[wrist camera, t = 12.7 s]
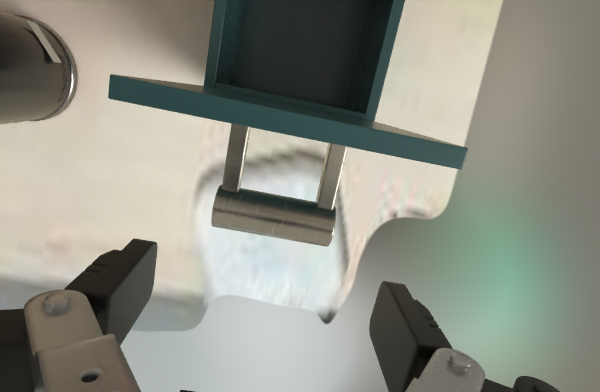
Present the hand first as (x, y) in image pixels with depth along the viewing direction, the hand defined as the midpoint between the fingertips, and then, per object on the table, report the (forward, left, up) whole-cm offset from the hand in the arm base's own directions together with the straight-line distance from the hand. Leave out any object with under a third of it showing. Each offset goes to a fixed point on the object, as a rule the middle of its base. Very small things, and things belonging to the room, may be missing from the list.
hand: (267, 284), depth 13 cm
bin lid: (0, +6, -9) cm, 10 cm away
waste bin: (0, +12, -27) cm, 30 cm away
